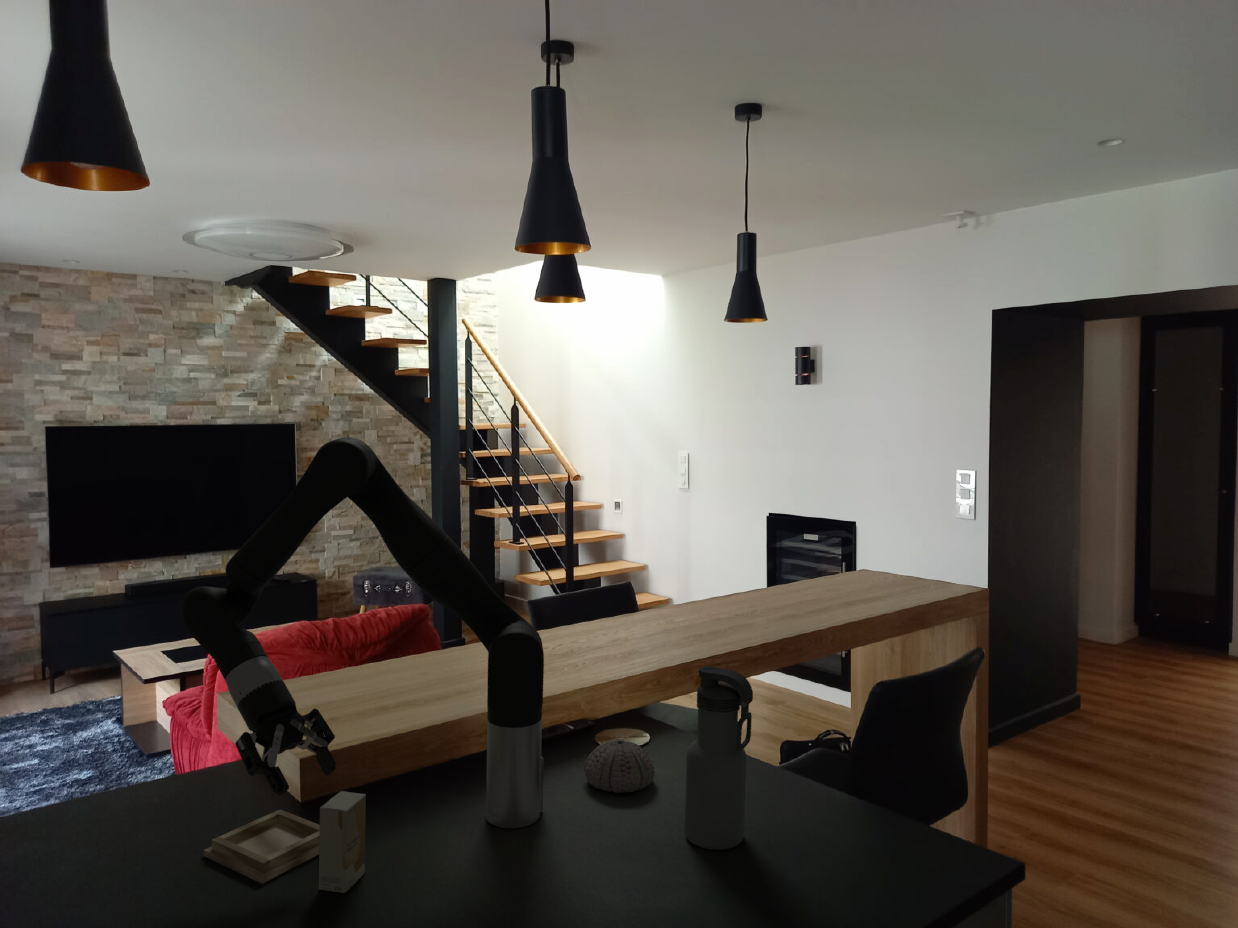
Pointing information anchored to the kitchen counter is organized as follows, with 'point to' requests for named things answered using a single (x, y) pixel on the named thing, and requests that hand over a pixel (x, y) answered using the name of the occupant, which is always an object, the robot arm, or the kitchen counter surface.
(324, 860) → the skincare box
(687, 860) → the kitchen counter surface
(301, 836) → the tray
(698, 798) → the water bottle
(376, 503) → the robot arm
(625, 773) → the sea urchin shell
